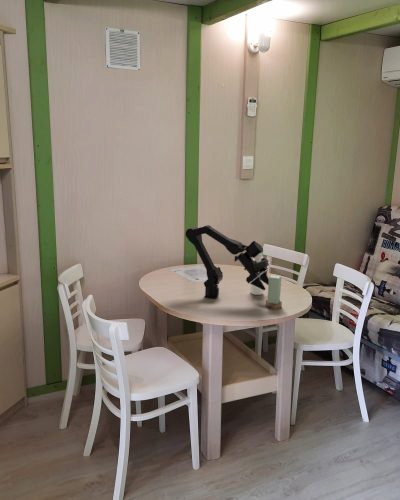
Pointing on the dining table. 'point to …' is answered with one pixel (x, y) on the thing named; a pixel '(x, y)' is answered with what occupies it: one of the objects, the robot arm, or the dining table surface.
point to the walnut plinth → (273, 305)
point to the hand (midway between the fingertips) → (267, 287)
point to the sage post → (274, 289)
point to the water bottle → (253, 288)
